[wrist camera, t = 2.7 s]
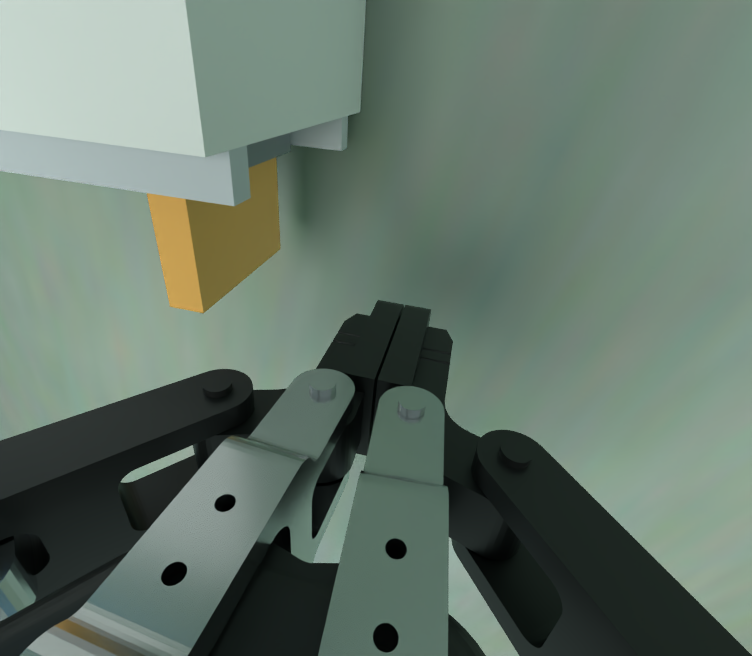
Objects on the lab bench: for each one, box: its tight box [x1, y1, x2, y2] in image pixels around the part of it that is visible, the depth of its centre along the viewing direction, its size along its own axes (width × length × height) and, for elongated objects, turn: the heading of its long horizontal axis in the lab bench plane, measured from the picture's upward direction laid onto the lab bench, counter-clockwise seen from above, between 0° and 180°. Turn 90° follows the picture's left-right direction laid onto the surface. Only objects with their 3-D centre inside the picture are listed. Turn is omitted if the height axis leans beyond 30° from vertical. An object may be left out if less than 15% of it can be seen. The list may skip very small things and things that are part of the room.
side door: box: [147, 133, 291, 313], centre depth 15 cm, size 5×10×7 cm, turn 85°
